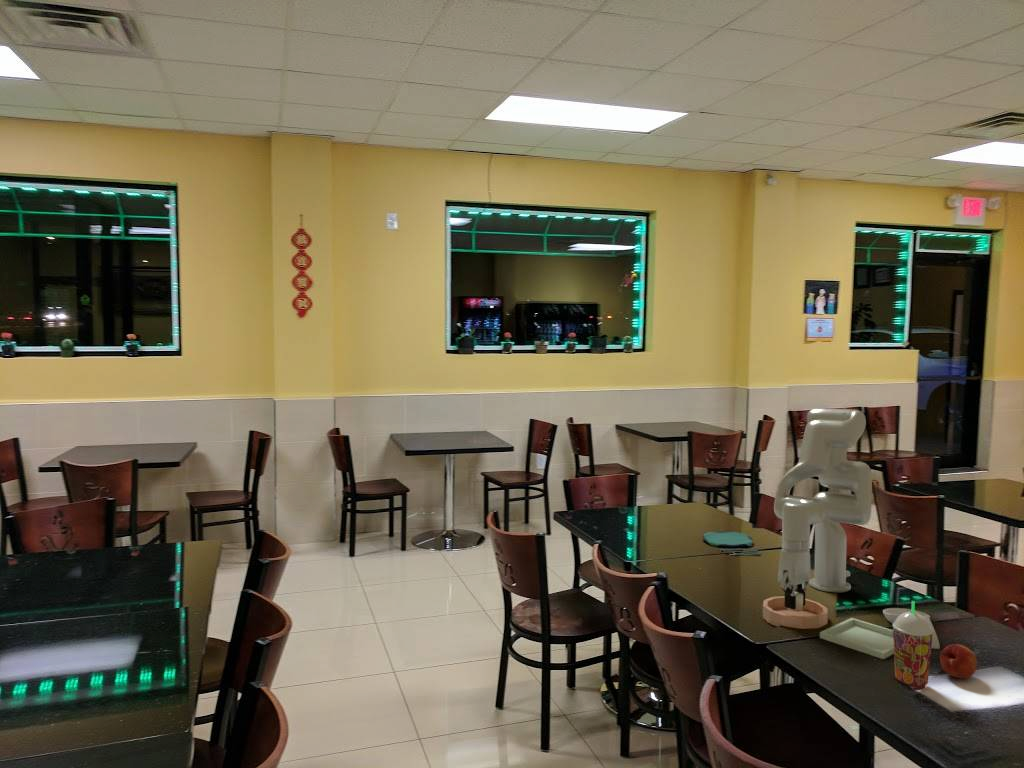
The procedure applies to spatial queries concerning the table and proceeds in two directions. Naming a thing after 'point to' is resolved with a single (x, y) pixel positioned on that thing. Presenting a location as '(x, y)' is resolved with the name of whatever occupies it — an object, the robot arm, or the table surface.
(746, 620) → the table surface
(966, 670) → the fruit
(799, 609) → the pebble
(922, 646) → the smoothie
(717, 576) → the table surface
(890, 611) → the spoon rest
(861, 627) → the tray
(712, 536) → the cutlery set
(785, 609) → the bowl
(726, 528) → the table surface
